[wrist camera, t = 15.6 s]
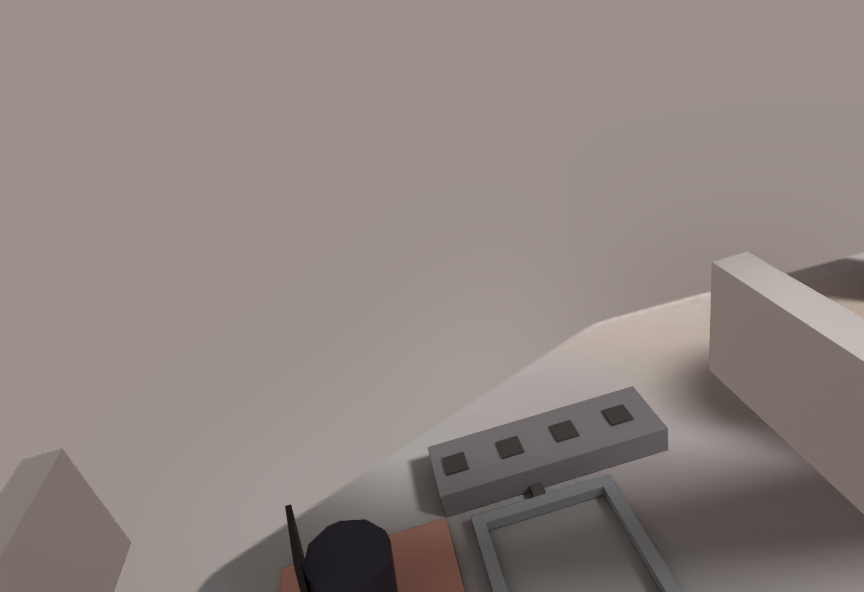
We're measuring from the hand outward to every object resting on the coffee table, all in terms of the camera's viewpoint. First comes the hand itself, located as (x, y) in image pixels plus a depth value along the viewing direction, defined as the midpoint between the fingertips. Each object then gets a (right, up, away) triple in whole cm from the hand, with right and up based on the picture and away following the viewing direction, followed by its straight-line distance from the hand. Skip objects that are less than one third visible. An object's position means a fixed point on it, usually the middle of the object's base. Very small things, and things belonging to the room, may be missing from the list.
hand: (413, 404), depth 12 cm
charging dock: (+12, -15, +34) cm, 39 cm away
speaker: (-4, -22, +29) cm, 37 cm away
